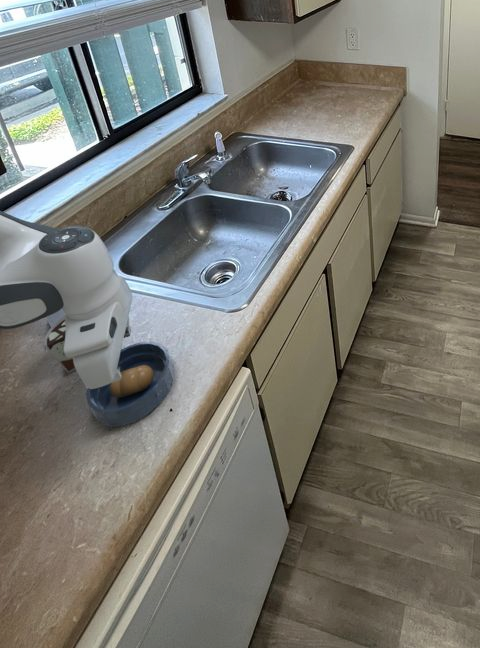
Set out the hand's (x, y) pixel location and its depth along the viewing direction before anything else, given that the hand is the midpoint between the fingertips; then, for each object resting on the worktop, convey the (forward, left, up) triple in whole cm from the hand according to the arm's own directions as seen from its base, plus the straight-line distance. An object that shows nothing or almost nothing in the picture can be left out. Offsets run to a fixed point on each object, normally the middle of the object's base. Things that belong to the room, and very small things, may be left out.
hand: (122, 355), depth 84 cm
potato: (0, 0, -10) cm, 10 cm away
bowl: (0, 0, -11) cm, 11 cm away
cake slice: (-11, +14, -11) cm, 21 cm away
